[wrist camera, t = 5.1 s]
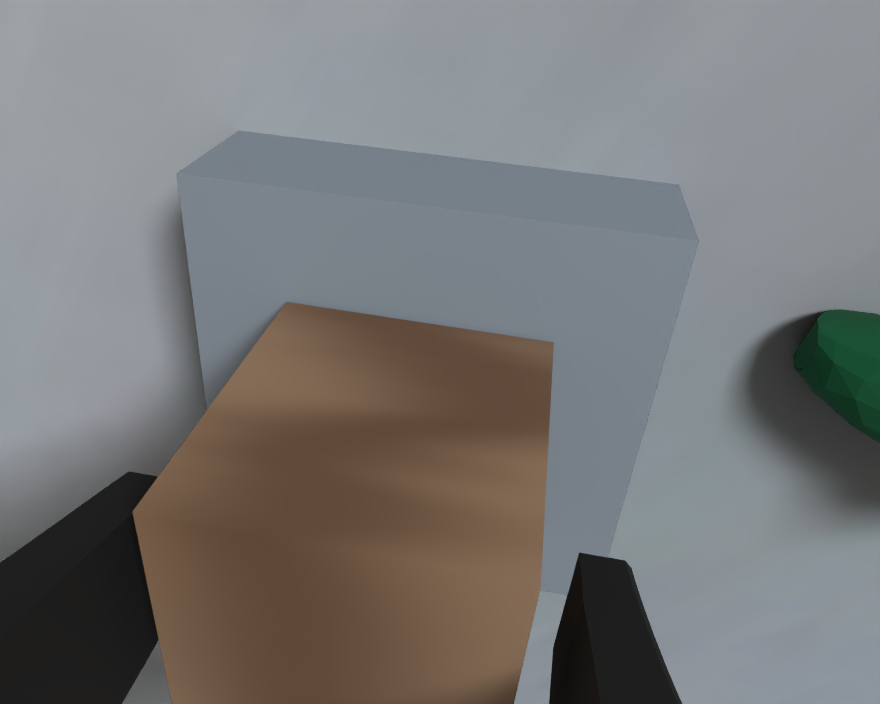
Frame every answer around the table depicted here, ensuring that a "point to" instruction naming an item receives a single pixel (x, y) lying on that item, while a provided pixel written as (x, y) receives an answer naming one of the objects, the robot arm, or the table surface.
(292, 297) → the slate block
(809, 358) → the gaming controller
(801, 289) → the table surface
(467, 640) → the walnut block
